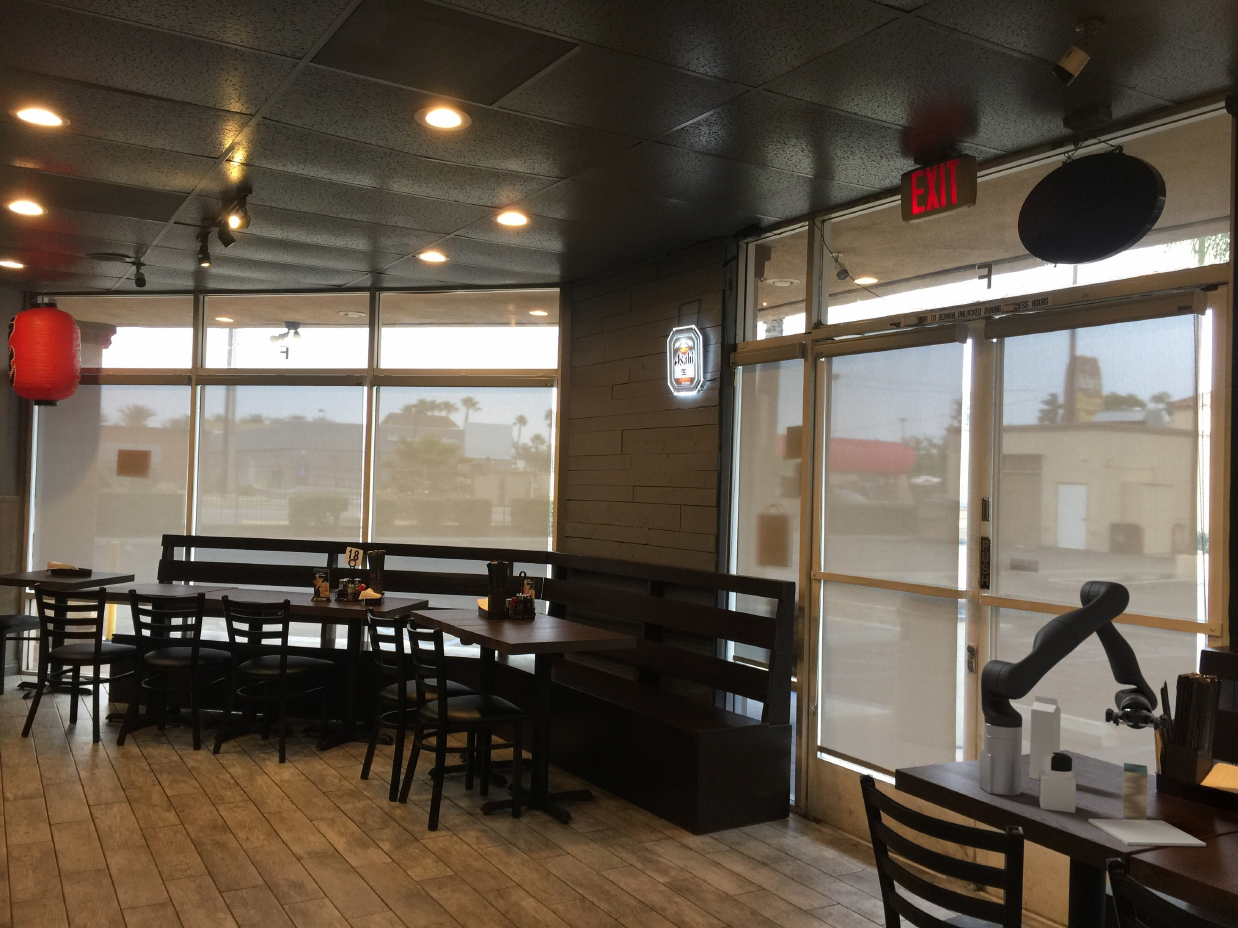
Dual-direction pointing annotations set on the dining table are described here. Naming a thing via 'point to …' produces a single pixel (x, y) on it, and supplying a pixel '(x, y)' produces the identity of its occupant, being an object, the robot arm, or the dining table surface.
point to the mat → (1146, 832)
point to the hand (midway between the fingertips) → (1136, 723)
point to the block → (1135, 791)
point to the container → (1057, 783)
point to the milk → (1043, 732)
